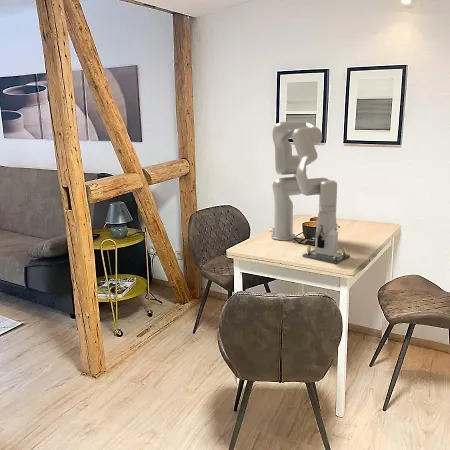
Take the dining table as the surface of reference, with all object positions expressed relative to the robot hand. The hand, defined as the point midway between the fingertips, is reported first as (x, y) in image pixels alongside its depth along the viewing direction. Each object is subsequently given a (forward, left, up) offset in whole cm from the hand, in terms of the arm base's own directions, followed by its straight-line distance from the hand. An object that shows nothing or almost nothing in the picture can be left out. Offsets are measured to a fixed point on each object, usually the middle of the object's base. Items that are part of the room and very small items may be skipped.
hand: (326, 245), depth 214 cm
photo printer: (0, 0, -5) cm, 5 cm away
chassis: (0, 0, -6) cm, 6 cm away
